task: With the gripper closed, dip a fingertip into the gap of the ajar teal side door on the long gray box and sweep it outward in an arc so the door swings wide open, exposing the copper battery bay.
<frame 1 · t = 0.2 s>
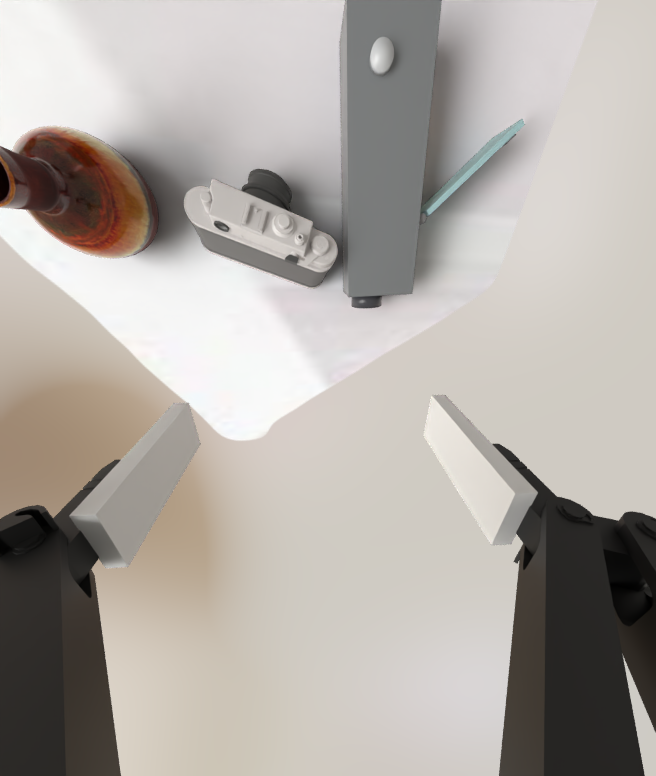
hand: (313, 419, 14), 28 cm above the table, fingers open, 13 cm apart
camera: (274, 230, 34), on the table
side door: (457, 181, 30), point 3 cm above the table, hinge at 50.0°
long gray box: (373, 187, 32), on the table
vase: (123, 207, 32), on the table
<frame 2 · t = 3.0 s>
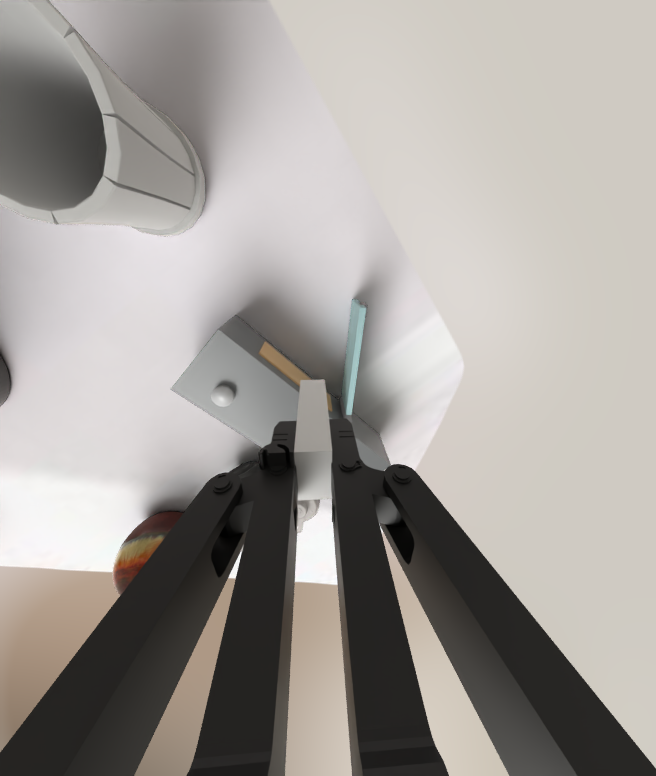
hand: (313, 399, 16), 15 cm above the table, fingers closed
cup: (147, 183, 23), on the table
camera: (265, 474, 39), on the table
side door: (352, 363, 28), point 3 cm above the table, hinge at 50.0°
long gray box: (295, 403, 33), on the table
vase: (176, 525, 43), on the table
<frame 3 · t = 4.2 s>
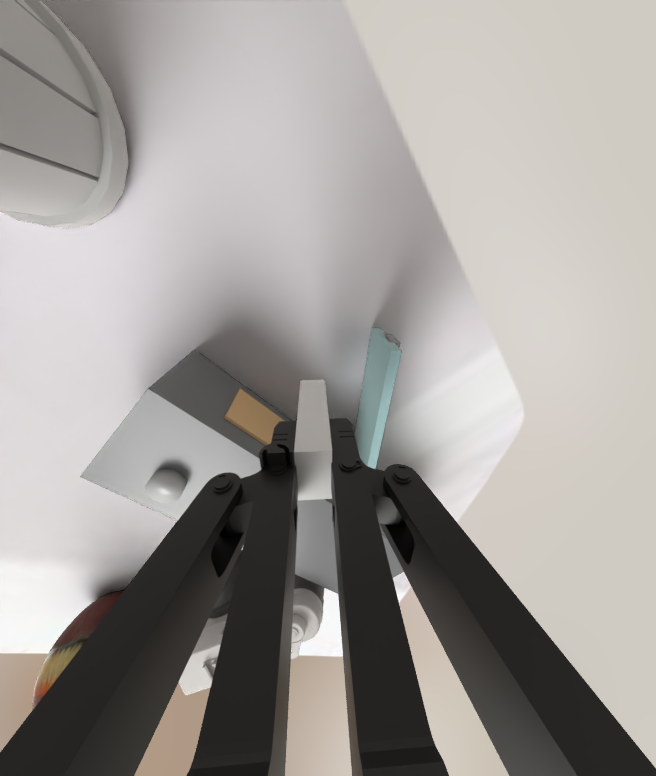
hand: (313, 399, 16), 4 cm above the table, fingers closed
cup: (26, 135, 13), on the table
camera: (251, 547, 30), on the table
side door: (370, 423, 19), point 3 cm above the table, hinge at 50.0°
long gray box: (287, 465, 24), on the table
vase: (134, 603, 33), on the table
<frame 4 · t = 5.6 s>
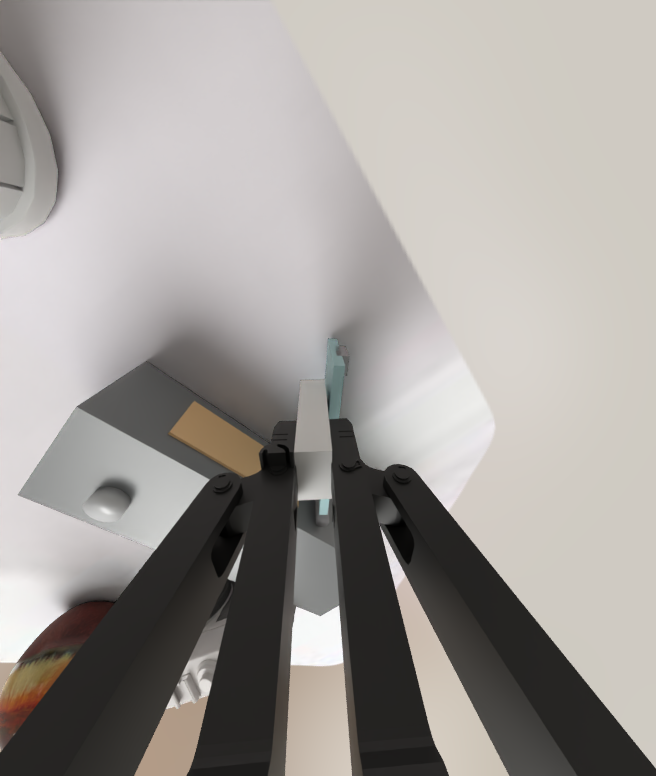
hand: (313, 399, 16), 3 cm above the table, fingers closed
camera: (226, 559, 29), on the table
side door: (328, 436, 18), point 3 cm above the table, hinge at 50.0°, touching gripper
long gray box: (252, 477, 23), on the table
vase: (108, 614, 33), on the table
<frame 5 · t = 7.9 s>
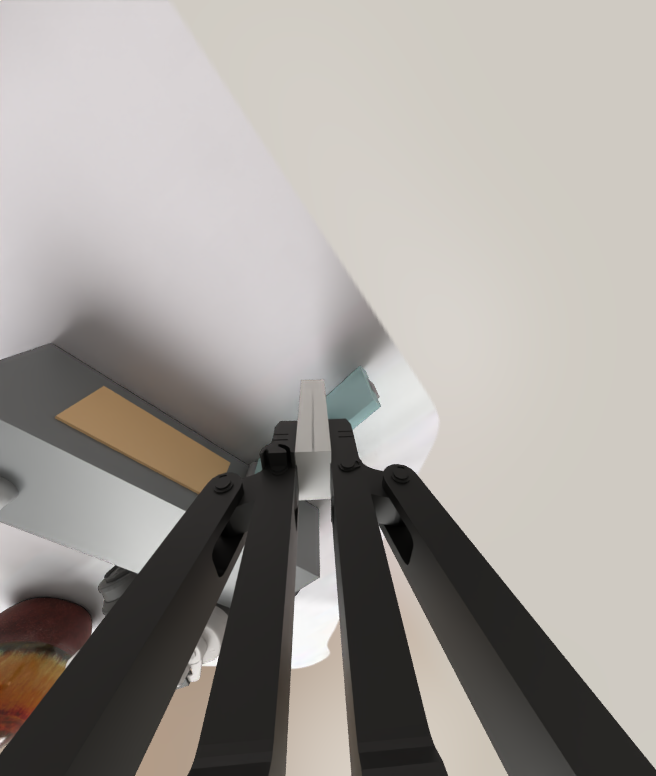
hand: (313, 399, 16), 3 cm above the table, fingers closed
camera: (180, 557, 28), on the table
side door: (301, 444, 18), point 3 cm above the table, hinge at 89.5°, touching gripper
long gray box: (185, 469, 22), on the table
vase: (57, 611, 32), on the table
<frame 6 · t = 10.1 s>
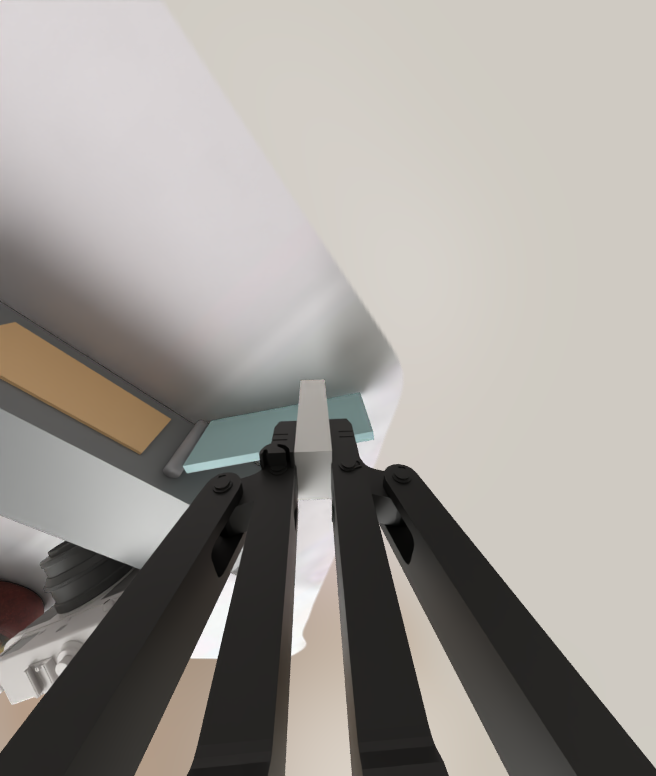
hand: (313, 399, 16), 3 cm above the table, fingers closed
camera: (140, 535, 26), on the table
side door: (273, 431, 18), point 3 cm above the table, hinge at 124.4°, touching gripper
long gray box: (125, 430, 20), on the table
vase: (7, 595, 30), on the table
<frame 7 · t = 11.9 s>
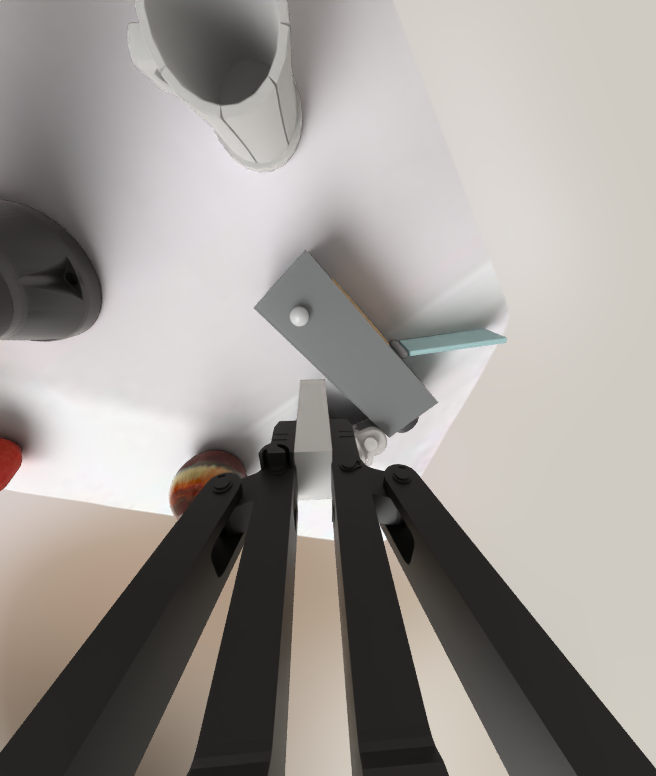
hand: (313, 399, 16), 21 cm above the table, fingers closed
apple: (8, 445, 43), on the table
cup: (251, 123, 26), on the table
camera: (327, 423, 42), on the table
side door: (444, 343, 34), point 3 cm above the table, hinge at 125.4°
long gray box: (349, 344, 36), on the table
vase: (221, 466, 46), on the table
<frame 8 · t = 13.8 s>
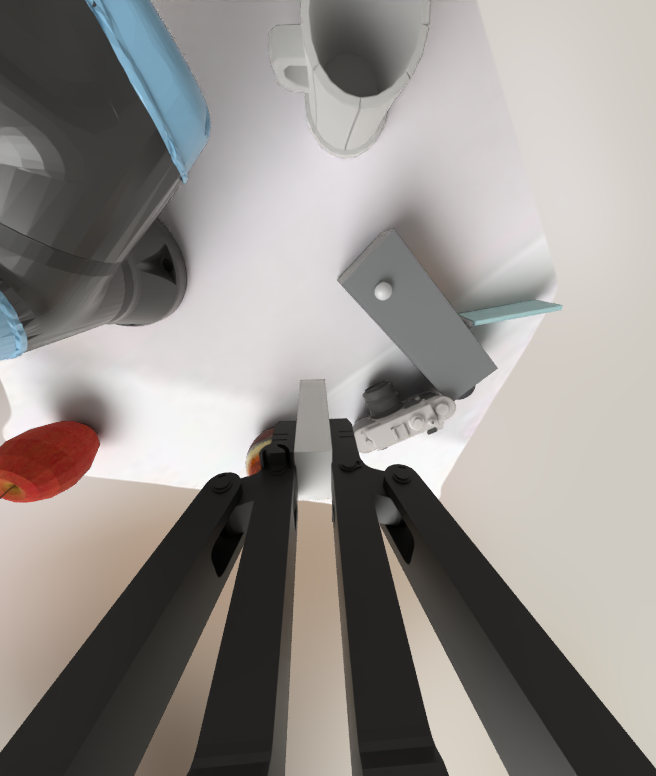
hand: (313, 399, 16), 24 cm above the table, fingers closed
apple: (84, 431, 45), on the table
cup: (338, 113, 28), on the table
camera: (386, 397, 46), on the table
side door: (501, 313, 37), point 3 cm above the table, hinge at 125.4°
long gray box: (411, 320, 39), on the table
vase: (282, 443, 49), on the table
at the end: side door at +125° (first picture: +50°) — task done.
